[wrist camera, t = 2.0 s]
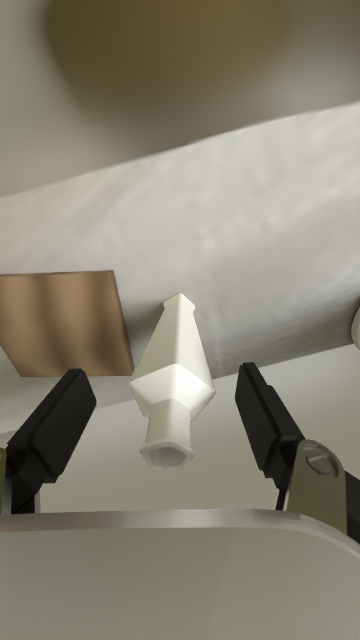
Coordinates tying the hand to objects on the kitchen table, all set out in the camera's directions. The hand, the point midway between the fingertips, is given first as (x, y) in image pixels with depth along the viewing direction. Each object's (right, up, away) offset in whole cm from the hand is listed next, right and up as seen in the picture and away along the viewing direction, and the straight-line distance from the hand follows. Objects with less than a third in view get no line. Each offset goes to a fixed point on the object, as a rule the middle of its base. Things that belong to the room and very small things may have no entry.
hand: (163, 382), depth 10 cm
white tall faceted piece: (+1, +5, +10) cm, 11 cm away
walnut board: (-14, +3, +11) cm, 18 cm away
